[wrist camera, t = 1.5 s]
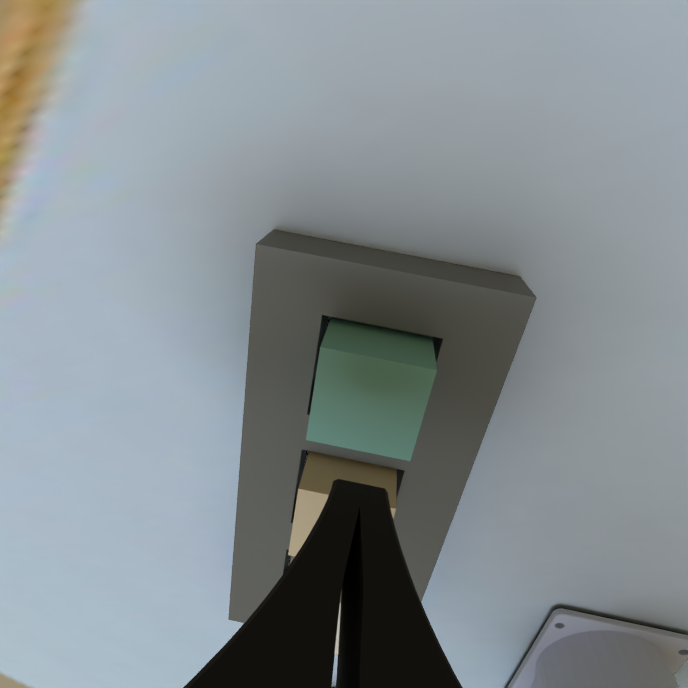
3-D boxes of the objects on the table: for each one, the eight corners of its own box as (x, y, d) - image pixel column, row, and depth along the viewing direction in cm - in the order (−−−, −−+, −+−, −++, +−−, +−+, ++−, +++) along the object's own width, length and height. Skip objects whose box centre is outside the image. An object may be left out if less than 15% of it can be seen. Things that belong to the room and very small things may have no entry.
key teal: (409, 420, 19) (410, 461, 17) (317, 402, 19) (305, 439, 17) (432, 337, 17) (437, 369, 15) (331, 317, 18) (320, 347, 15)
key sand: (379, 526, 22) (376, 574, 20) (299, 510, 22) (288, 555, 20) (396, 465, 20) (396, 508, 18) (310, 447, 20) (298, 488, 18)
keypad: (400, 615, 28) (400, 657, 26) (241, 581, 28) (228, 619, 26) (520, 276, 18) (536, 297, 16) (273, 229, 18) (256, 244, 16)
